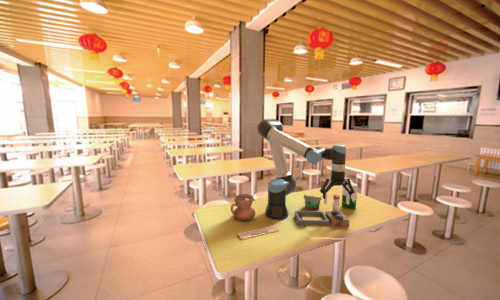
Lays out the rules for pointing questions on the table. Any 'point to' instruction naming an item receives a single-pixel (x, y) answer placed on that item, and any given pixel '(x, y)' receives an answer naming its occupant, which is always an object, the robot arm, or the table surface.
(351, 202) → the milk carton
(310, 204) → the half moon wedge
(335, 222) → the block
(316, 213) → the tray
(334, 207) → the pin
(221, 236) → the table surface
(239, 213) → the ceramic jug
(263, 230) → the newspaper
